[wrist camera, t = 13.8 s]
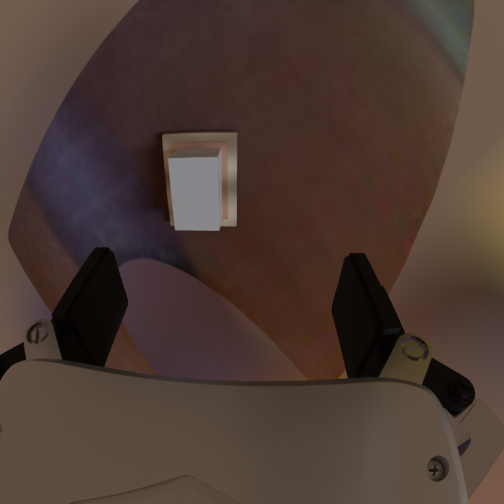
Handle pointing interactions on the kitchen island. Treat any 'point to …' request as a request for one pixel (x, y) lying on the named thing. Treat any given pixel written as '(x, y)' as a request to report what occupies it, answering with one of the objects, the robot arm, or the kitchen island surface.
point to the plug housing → (196, 188)
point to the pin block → (228, 165)
